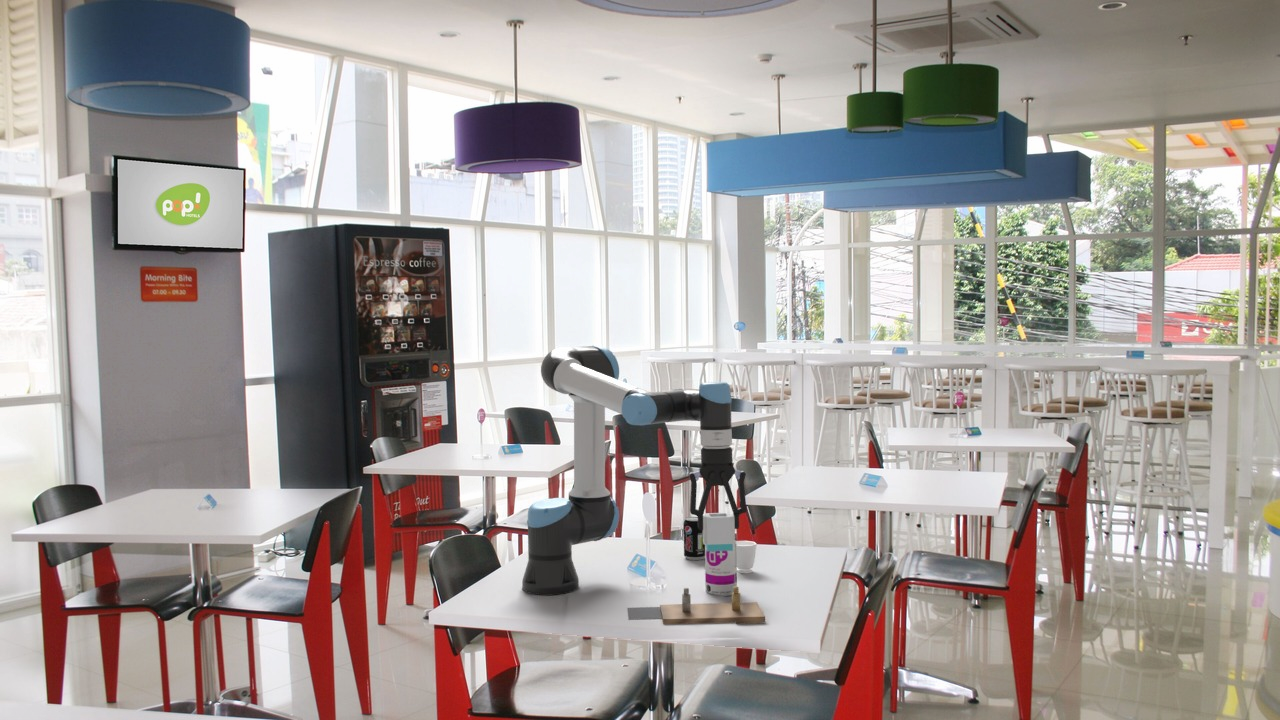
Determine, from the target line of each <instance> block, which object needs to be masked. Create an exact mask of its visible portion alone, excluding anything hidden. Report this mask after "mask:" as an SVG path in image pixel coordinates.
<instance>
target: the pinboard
mask: <svg viewBox="0 0 1280 720" xmlns="http://www.w3.org/2000/svg"><path fill="white" fill-rule="evenodd" d="M689 589H690V588H689V587H683V594H682V595H681V603H679V604H678V603H677V604H673V603H672V604H659V607H660V611H661V616H662V619H661V620H662V624H663V625H679V624H682V625H684V624H717V623H718V624H719V623H735V624H740V623H741V624H761V623H760V622H765V623H766V615H765V613H764V611H762V608H761V607H760V605H759V603H758V602H757V601H755V602H754V601H753V602H749V601H748V602H741V593H740V592H739V589H740V588H739V586H737V587H733V590H734V592H733V593H732V595H731V602H720V603H719V602H715V603H691V598H692V597H691V594H690V590H689ZM741 624H740V625H741Z"/></svg>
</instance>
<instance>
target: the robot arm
mask: <svg viewBox="0 0 1280 720" xmlns="http://www.w3.org/2000/svg"><path fill="white" fill-rule="evenodd" d="M541 362H542V363H541V365H540V374H541V379H542V380H543V382H544V384H545V385H546V386H547V387H548V388H550V389H551V390H554V391H556V392H558V393H560V394H563V395H568V396H569V398H571V400H572V401H573V488H572V489H571V490H570V491H568V498H565V497H553V498H546V499H542V500H539V501H536V502H534V503H532V504H531V505H530V506H529V508H528V510H527V520H526V523H527V543H528V545H527V548H528V552H527V554H528V557H527V558H528V560H527V562H526V567H525V571H524V574H523V577H522V582H521V583H522V584H521V585H522V589H521V590H522V591H524V592H525V593H528V594H531V595H532V594H533V595H539V596H541V595H543V596H548V595H551V596H553V595H561V594H562V595H563V594H567V593H568V594H569V593H572V592H574V591H576V590H577V589H579V586H580V583H579V582H580V579H579V576H578V573H577V570H576V566H575V565H574V561H573V555H572V554H573V552H572V550H573V549H572V546H573V545H579V544H580V545H581V544H584V543H588V542H589V543H591V542H597V541H601V540H603V539H607V538H609V537H610V536H612V534H613V533H615V531H616V529H617V528H618V526H619V523H620V522H619V521H620V511H619V506H617V502H616V500H615V499H614V498H612V497H611V492H610V490H609V489H607V487H606V409H609V410H611V411H613V412H616V413H617V414H621V415H622V417H623V419H624V420H625V421H626V423H627V424H629V425H632V426H647V425H655V424H663V423H664V424H665V423H675V422H683V421H685V422H686V421H687V422H688V421H695V422H696V421H697V422H699V424H700V425H699V426H700V427H699V429H700V430H699V431H700V433H699V434H700V445H701V446H702V448H700V460H701V461H700V468H699V470H697V471H694V472H693V471H690V472H689V473H688V477H689V479H690V502H689V512H690V514H691V515H694V516H695V517H698V528H699V530H703V544H704V545H707V535H706V516H705V510H706V506H707V503H708V499H709V497H710V493H711V490H712V488H713V487H716V486H719V487H720V486H721V487H724V490H725V493H726V496H727V499H728V502H729V505H730V507H731V511H732V514H730V515H731V516H732V539H733V544H735V540H736V533H735V532H736V530H739V529H740V515H742V514H746V513H747V501H746V491H745V479H746V472H745V471H744V470H739V469H735V467H734V464H733V463H734V462H733V448H732V447H731V446H732V444H733V434H732V401H733V400H732V395H731V385H730V384H729V383H728V382H726V381H725V382H724V381H722V382H721V381H719V382H717V381H715V382H714V381H713V382H701V383H700V384H699V387H698V390H695V389H694V390H692V389H683V388H679V389H670V390H668V391H667V390H665V391H652V392H651V391H647V390H645V389H642V388H641V387H638V386H635V385H633V384H629V383H627V382H624V381H622V380H619V378H620V365H619V362H618V360H617V357H616V356H615V355H614V354H613V352H612V351H611V350H610V349H609V348H607V347H605V346H597V345H595V346H594V345H588V346H587V345H585V346H564V347H563V346H561V347H558V348H554V349H553V350H551V351H550V352H548V353H546V355H545V356H544V358H543V360H542V361H541ZM734 475H735V479H736V480H737V486H738V487H737V489H738V497H739V498H738V500H739V508H738V506H737V504H736V500H735V497H734V494H733V492H732V488H731V486H730V480H731V479H732V477H733V476H734ZM700 476H701V477H702V478H703V480H704V482H705V484H704V489H703V491H702V496H701V499H700V502H699V506H698V509H697V489H698V488H697V487H698V485H697V482H698V481H699V479H700Z"/></svg>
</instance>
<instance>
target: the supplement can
mask: <svg viewBox="0 0 1280 720" xmlns="http://www.w3.org/2000/svg"><path fill="white" fill-rule="evenodd" d="M736 541H737V540H736V539H735V544H733V551H707V549H706V547H705V557H704V560H705V561H704V565H705V566H704V567H705V568H704V570H705V571H704V572H705V573H704V575H705V580H704V581H705V592H706V593H709V594H710V595H715V596H723V597H728V596H729V597H730V596H732V593H733V592H734V590H733V587H738V579H737V575H738V572H737V570H738V568H737V556H736Z"/></svg>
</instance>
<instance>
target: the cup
mask: <svg viewBox="0 0 1280 720" xmlns="http://www.w3.org/2000/svg"><path fill="white" fill-rule="evenodd" d="M757 545H758V544H757V543H756V542H755V541H751V540H736V556H737V573H740V574H751V573H753V568H754V564H755V558H756V551H757Z"/></svg>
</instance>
